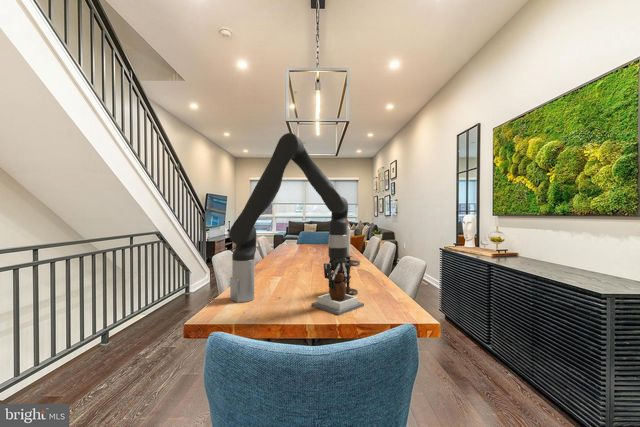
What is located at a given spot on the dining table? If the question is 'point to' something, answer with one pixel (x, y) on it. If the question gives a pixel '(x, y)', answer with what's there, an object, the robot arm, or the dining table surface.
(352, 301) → the plate
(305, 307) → the dining table surface
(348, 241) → the candlestick
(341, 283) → the wooden figurine
